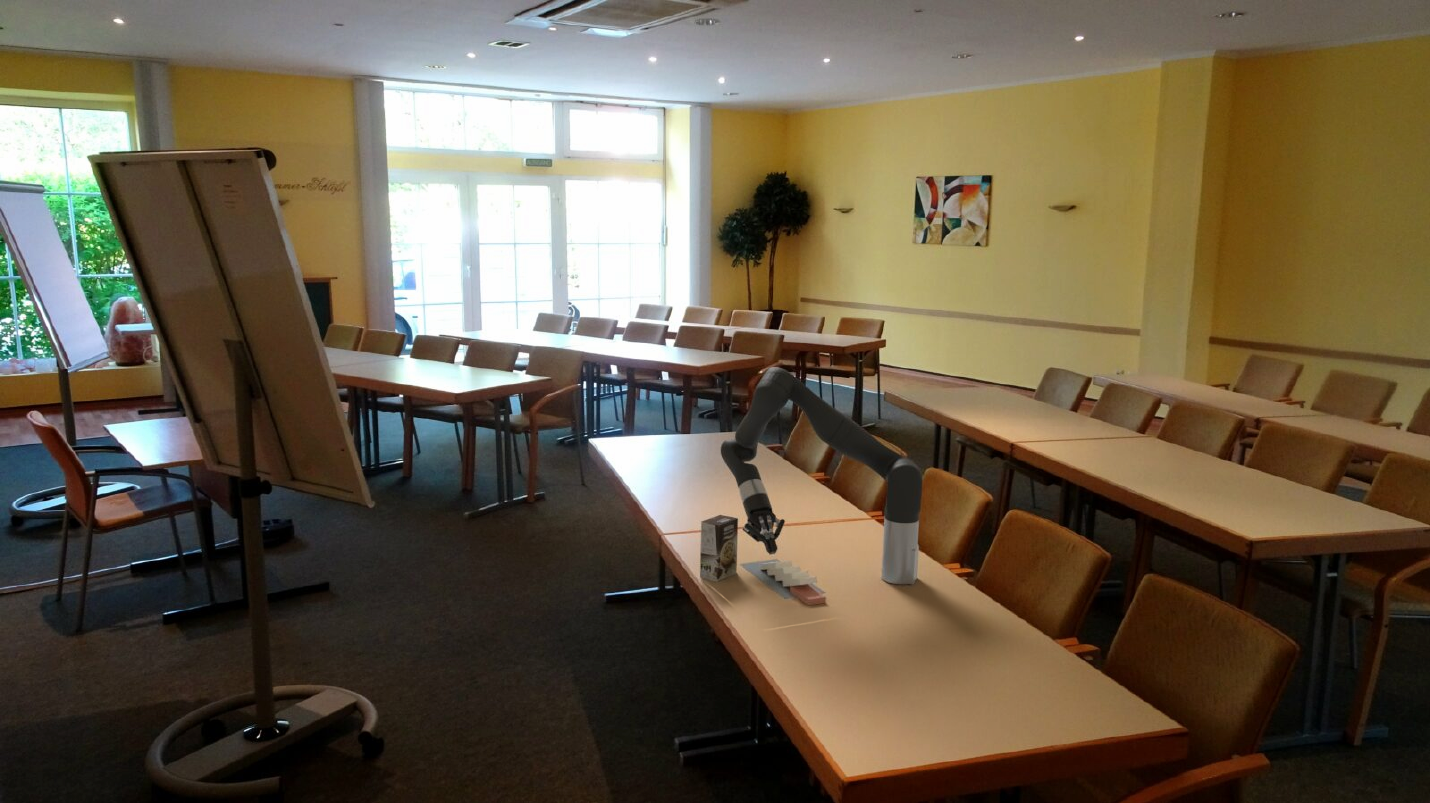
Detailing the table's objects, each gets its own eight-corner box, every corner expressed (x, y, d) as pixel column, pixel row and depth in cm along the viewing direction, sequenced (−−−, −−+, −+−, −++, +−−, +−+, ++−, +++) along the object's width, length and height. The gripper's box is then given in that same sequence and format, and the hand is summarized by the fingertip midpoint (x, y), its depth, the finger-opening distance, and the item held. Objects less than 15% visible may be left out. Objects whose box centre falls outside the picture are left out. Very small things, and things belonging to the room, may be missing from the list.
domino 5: (806, 583, 253) (825, 596, 244) (806, 589, 253) (825, 602, 244) (790, 585, 251) (808, 599, 242) (789, 591, 251) (808, 605, 242)
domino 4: (798, 577, 257) (816, 576, 248) (799, 584, 257) (817, 582, 248) (782, 580, 255) (799, 578, 246) (783, 586, 255) (800, 584, 246)
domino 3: (791, 572, 261) (808, 570, 252) (792, 578, 261) (809, 577, 252) (774, 575, 259) (791, 573, 250) (775, 581, 259) (792, 579, 250)
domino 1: (775, 561, 270) (791, 560, 261) (776, 567, 269) (792, 566, 260) (759, 563, 268) (774, 562, 259) (760, 569, 267) (775, 568, 258)
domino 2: (783, 567, 265) (799, 565, 256) (784, 573, 265) (800, 571, 256) (767, 569, 263) (783, 567, 254) (767, 575, 263) (784, 574, 254)
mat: (739, 565, 272) (739, 563, 272) (776, 560, 277) (776, 558, 276) (784, 600, 247) (784, 598, 246) (825, 593, 251) (825, 592, 251)
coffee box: (717, 583, 258) (719, 525, 255) (699, 577, 262) (699, 520, 259) (737, 574, 265) (739, 517, 262) (719, 568, 269) (720, 513, 266)
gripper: (771, 503, 279) (789, 556, 270) (729, 507, 274) (747, 561, 265) (780, 489, 274) (799, 544, 265) (738, 494, 268) (756, 549, 260)
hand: (773, 552), depth 265 cm, fingers closed
